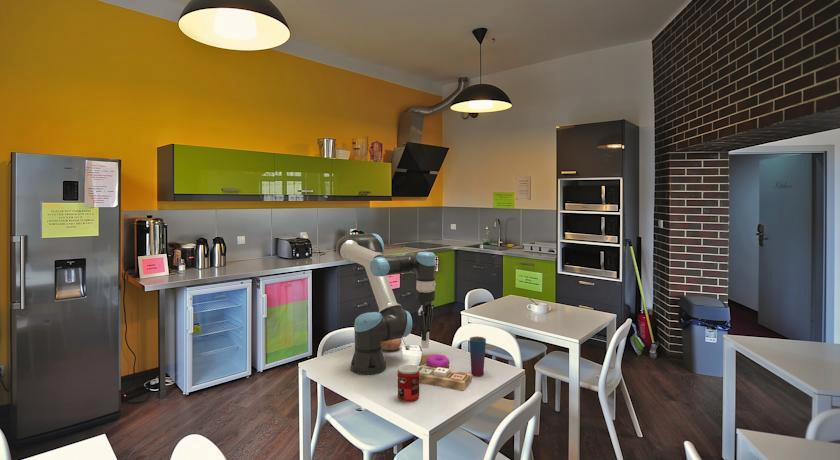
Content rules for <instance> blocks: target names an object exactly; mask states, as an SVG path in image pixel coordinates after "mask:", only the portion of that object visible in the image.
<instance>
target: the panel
mask: <svg viewBox="0 0 840 460" xmlns="http://www.w3.org/2000/svg"><path fill="white" fill-rule="evenodd" d="M418 367H419V371H420V370H421V369H422V368H425V369H431V370H436V369H437V368H434V367H429V366H428V365H421V366H418ZM454 373H455V374H461V375H466V378H465V379H464V380H463V381H462V380H456V379H451V378H450V377H451V376H452V375H453V374H454ZM472 377H473V375H472V374H471V373H469V372H462V371H457V370H450V374H449V375H448V376H447V377H446V378H445V377H439V376H434V371H433V372H432V373H431V374H430V375H427V374H422V373H419V384H424V385H431V386H435V387H442V388H447V389H451V390H452V389H453V390H459V391H464V390H466V388H467V387H468V386H469V385H470V384H471V383H472Z"/></svg>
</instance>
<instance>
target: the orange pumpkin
mask: <svg viewBox="0 0 840 460" xmlns="http://www.w3.org/2000/svg"><path fill="white" fill-rule="evenodd" d="M401 345H402V338H401V339H394V340H389V341H385V342H382V350H383V349H384V350H385V351H389V350H391V351H395V350H397V349H399V348H401V347H400V346H401Z"/></svg>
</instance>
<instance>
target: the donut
mask: <svg viewBox="0 0 840 460" xmlns="http://www.w3.org/2000/svg"><path fill="white" fill-rule="evenodd" d="M449 365H450V359H449V357H447V356H445V355H443V354H437V353H434V354H431V355H429V356H428V357H427V358H426V366H428V367H434V368H438V367H441V368H448V367H449Z"/></svg>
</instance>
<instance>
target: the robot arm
mask: <svg viewBox="0 0 840 460" xmlns="http://www.w3.org/2000/svg"><path fill="white" fill-rule="evenodd" d="M335 251H336V253H337V255H338V256H339V257H340V258H341V259H343V260H345V261H348V262H349V261H351V262H354V263H355V264H356V263H357V264H359V265H361V266H363V267H364V269H365V273H366V275H367V278H368V281H369V283H370V288H371V290H372V292H373V295H374V298H375V301H376V304H377V307H378V312H377V311H372V312H369V311H368V312H365V313H362V314H359V315H358V316H356V318H354V319H355V320H354V325H353V326H354V327H353V329H354V352H353V356H352V359H351V362H350V370H351V372H353V373H355V374H358V375H375V374H378V373H379V374H380V373H381V372H384V371H385V370H386V368H387V362H386V359H385V355H384V353H383V348H382V342H385V341H389V340H394V339H401V340H402V338H405V337H408V336H409V335H410V334H411V331H412V329H413V319H412V315H411V313H410V311H408V310H405V309H403V306H402V305H401V304H400V303H398V302H397V300H396V297H395V294H394V291H393V288H392V286H391V283H390V280H389V278H388V277H389V276H393V275H402V274H416V285H415V286H416V294H415V295H416V296H415V297H416V298H415V299H416V300H417V302H419V306H418V308H419V309H418V310H415V311H416V316H417V323H418V332H419V333H421V337H420V338H421V341H420V342H421V344H420V345H421V346H420V348H422V349H429V348H430V332H432V327H433V326H432V325H433V317H434V316H433V315H434V308H435V304H432V303H433V302H434V301H435V300H436V291H435V290H436V286H437V283H436V254H435V253H434V252H431V251H419V252H417V253H416V254H412V253H403V254H401V255H394V256H393V255H392V256H387V255H384V253H385V244H384V241H383V239H382V237H381V236H380V235H379V234H377V233H370V232H369V233H358V234H357V233H355V234H354V233H352V234H347V235H344V236H342V237H340V239H338V241H337V243H336V246H335Z"/></svg>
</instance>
